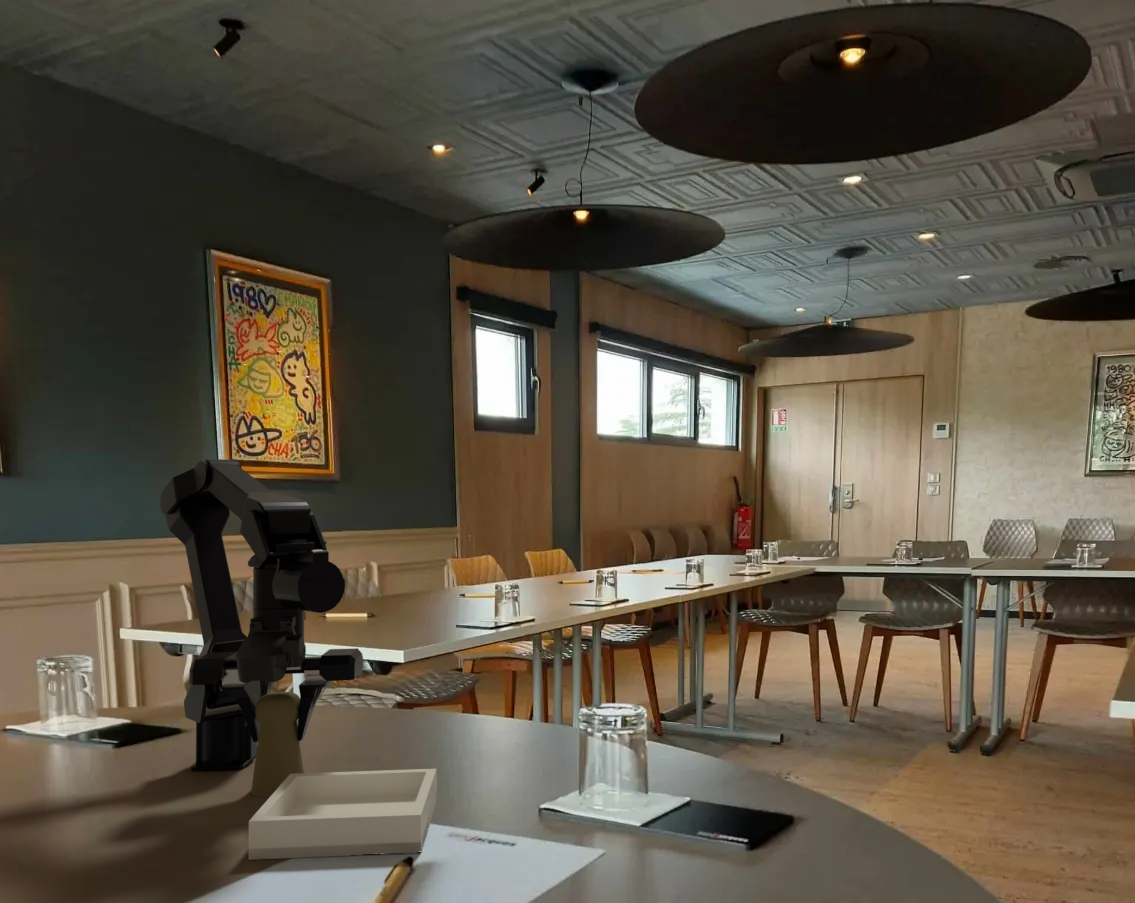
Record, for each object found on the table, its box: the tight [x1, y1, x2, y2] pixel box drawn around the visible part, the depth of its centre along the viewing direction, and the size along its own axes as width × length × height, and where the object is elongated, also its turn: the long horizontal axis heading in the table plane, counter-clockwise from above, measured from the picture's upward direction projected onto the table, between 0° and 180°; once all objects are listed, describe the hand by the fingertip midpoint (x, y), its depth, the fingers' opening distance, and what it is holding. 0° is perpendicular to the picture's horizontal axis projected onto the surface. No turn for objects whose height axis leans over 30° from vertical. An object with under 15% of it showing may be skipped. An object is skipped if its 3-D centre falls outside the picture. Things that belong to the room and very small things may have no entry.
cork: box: [250, 691, 305, 799], centre depth 99 cm, size 6×6×11 cm
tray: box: [248, 768, 438, 861], centre depth 86 cm, size 16×14×4 cm
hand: (278, 740), depth 99 cm, fingers closed on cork, 5 cm apart
